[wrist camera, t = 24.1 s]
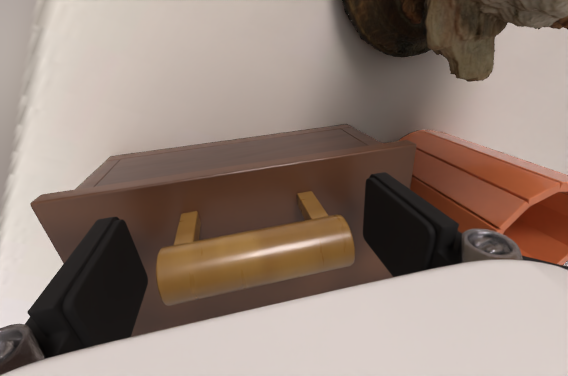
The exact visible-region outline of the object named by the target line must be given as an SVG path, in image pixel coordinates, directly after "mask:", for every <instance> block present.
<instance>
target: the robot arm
mask: <svg viewBox="0 0 568 376" xmlns="http://www.w3.org/2000/svg"><path fill="white" fill-rule="evenodd" d="M458 227H459V224H458V223H457V222H456V221H454V220H453V219H451V218H450V217H448V216H447V215H446V214H444V213H443V212H441V211H440V210H439V209H437V208H436V207H434V206H433V205H432V204H430V203H429V202H427V201H426V200H424V199H423V198H422V197H420V196H419V195H417V194H416V193H415V192H413V191H412V190H410V189H409V188H408V187H406V186H405V185H403V184H402V183H400V182H399V181H398V180H396V179H395V178H393V177H392V176H391V175H389V174H388V173H386V172H382V173H376V174H371V175H370V177H369V178H367V179H366V185H365V201H364V218H363V237H364V240H365V241H366V243H367V244H368V245H369V246H370V248H371V249H372V250H373V252H374V253H375V254H376V255H377V257H378V258H379V259H380V261H381V262H382V263H383V264H384V266H385V267H386V268H387V270H388V271H389V272H390V273H391V275H392V276H393V277H392V278H388V279H383V280H379V281H374V282H370V283H365V284H361V285H356V286H352V287H348V288H343V289H339V290H334V291H330V292H326V293H321V294H317V295H312V296H308V297H304V298H299V299H295V300H290V301H286V302H282V303H277V304H273V305H268V306H264V307H260V308H255V309H251V310H246V311H242V312H238V313H233V314H229V315H224V316H220V317H216V318H211V319H207V320H202V321H198V322H194V323H189V324H185V325H181V326H176V327H172V328H168V329H164V330H159V331H155V332H151V333H146V334H142V335H138V336H134V337H131V335H132V332H133V329H134V325H135V322H136V319H137V316H138V313H139V310H140V307H141V304H142V301H143V297H144V294H145V291H146V288H147V285H148V277H147V273H146V271H145V268H144V266H143V264H142V261H141V259H140V256H139V254H138V251H137V249H136V246H135V244H134V242H133V239H132V237H131V234H130V232H129V229H128V227H127V224H126V222H125V221H124V220H123V219H122V220H120V219H119V218H118V217H110V218H104V219H98V220H97V221H96V222H95V223H94V225H93V226H92V227H91V229H90V230H89V231H88V233H87V234H86V235H85V237H84V238H83V239H82V241H81V242H80V243H79V245H78V246H77V247H76V249H75V250H74V251H73V252H72V254H71V255H70V256H69V258H68V259H67V260H66V262H65V263H64V264H63V266H62V267H61V268H60V270H59V271H58V272H57V274H56V275H55V276H54V278H53V279H52V280H51V282H50V283H49V284H48V286H47V287H46V288H45V290H44V291H43V292H42V294H41V295H40V296H39V298H38V299H37V300H36V301H35V303H34V304H33V305H32V307H31V308H30V309H29V311H28V312H27V313H28V314H29V315H30V318H29V319H28V321H27V322H26V323H25V325H24V324H15V325H9V326H6V327H3V328H0V376H568V267H567V266H563V265H559V264H555V263H551V262H547V261H543V260H538V259H534V258H530V257H526V256H522V255H521V251H520V248H519V247H518V245H517V244H516V243H515V242H514V241H513V240H512V239H510V238H509V237H507V236H505V235H503V234H501V233H498V232H495V231H491V230H487V229H479V228H478V229H469V230H466V231H465V232H463V233H461V232H459V231H458Z"/></svg>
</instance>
